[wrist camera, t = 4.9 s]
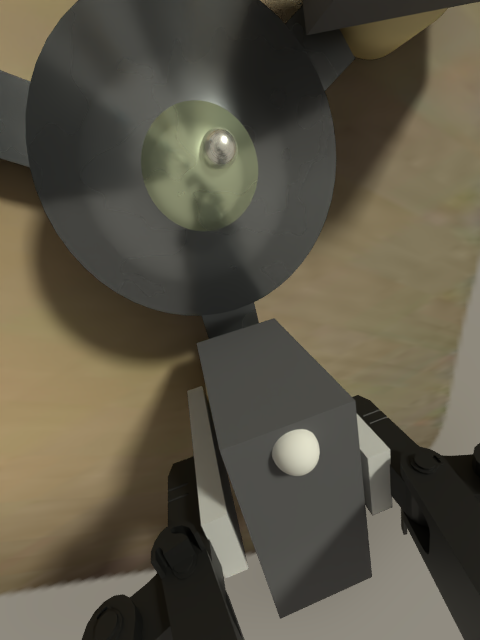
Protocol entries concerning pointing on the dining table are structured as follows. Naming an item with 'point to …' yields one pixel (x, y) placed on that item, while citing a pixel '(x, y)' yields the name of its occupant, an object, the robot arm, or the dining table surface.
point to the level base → (181, 147)
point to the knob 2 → (374, 21)
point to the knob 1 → (290, 461)
